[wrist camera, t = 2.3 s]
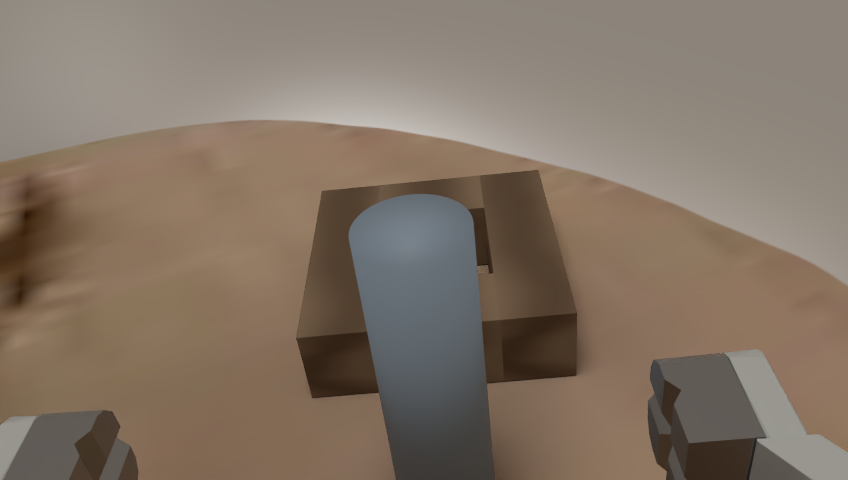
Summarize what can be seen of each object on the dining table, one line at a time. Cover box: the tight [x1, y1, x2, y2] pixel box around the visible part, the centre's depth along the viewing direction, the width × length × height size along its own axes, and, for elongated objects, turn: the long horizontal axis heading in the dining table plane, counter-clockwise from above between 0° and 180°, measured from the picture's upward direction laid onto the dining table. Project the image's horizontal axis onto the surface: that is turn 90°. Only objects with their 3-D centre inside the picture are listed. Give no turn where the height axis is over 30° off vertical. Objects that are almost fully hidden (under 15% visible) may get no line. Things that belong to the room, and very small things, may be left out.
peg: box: [349, 194, 495, 480], centre depth 29 cm, size 4×4×14 cm
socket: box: [296, 170, 577, 398], centre depth 42 cm, size 13×13×4 cm
